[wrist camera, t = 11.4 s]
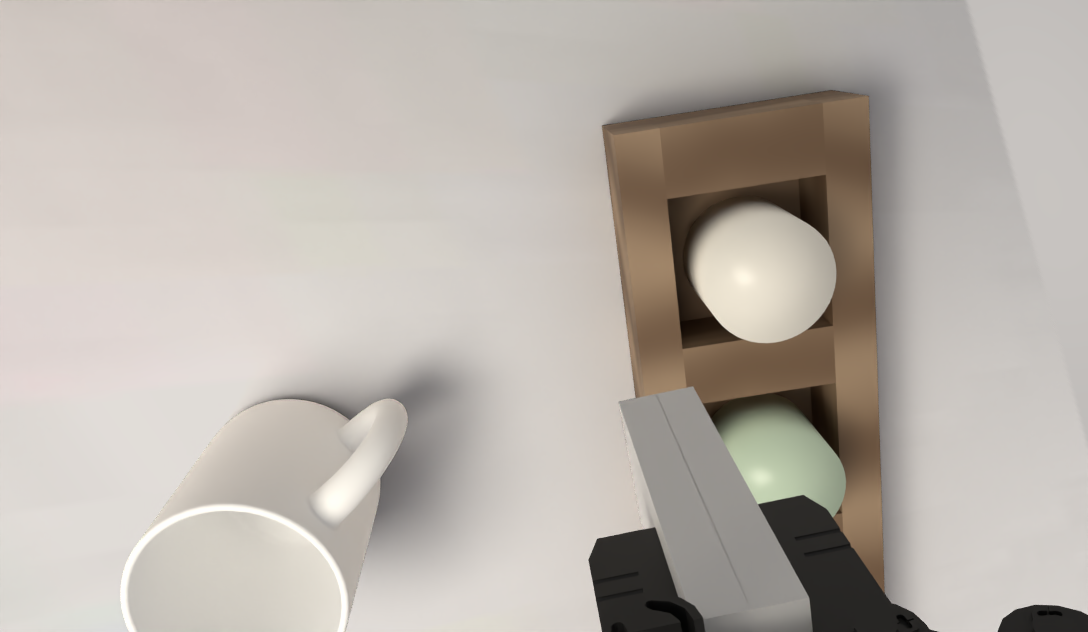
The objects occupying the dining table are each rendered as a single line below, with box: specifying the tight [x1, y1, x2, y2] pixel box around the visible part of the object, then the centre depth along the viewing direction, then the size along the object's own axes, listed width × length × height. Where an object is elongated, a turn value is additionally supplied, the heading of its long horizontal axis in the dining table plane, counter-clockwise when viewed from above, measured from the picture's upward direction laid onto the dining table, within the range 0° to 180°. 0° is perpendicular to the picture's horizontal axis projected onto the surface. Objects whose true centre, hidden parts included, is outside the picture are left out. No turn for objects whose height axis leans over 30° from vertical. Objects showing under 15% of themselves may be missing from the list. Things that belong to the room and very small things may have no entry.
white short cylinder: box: [683, 196, 836, 343], centre depth 35 cm, size 5×5×4 cm
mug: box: [121, 399, 408, 632], centre depth 37 cm, size 12×8×10 cm
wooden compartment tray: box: [602, 90, 885, 594], centre depth 40 cm, size 30×10×4 cm, turn 8°
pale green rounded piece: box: [711, 393, 846, 517], centre depth 38 cm, size 5×5×4 cm
